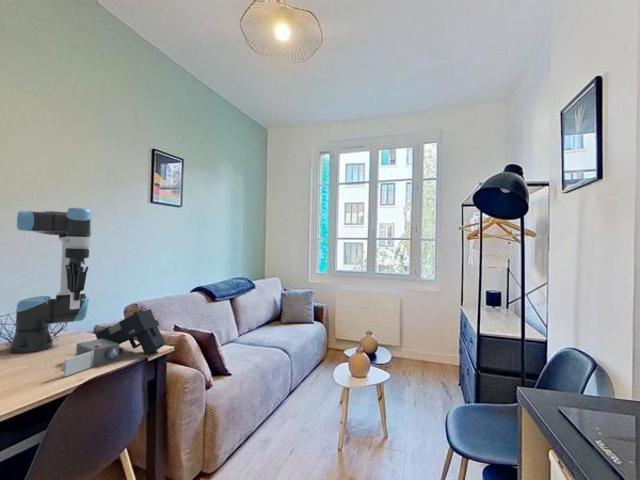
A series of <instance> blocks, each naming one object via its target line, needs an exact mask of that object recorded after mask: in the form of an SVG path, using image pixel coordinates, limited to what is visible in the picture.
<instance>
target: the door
mask: <svg viewBox="0 0 640 480" xmlns="http://www.w3.org/2000/svg"><path fill="white" fill-rule="evenodd" d="M93 352H94V351H93V350H92V351H90V352H87V353H84V354H81V355H78V356H76V355H75V356H72V357H71V356H70V357H68V358H66V359H64V363H62V364H61V372H63V376H64V377H68V376H71V375H73V374H75V373H78V372H81V371H84V370H87V369H89V368H90V369H91V368H94V367H93Z"/></svg>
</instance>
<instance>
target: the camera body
mask: <svg viewBox="0 0 640 480" xmlns="http://www.w3.org/2000/svg"><path fill="white" fill-rule="evenodd" d="M75 350H76V353H75V356H78V355H81V354H84V353H87V352H90V351H92V350H93V351H94V352H93V367H92V368H96V367H99V366H104V365H106V364H110V363H114V362H117V361H119V360H120V344H118V343H115V342H112V341H109V340H106V339H103V338H102V339H97V338H96V339H94V340H93V339H91V340H88V341H83V342H78V343H76V349H75Z"/></svg>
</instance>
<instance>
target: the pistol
mask: <svg viewBox="0 0 640 480" xmlns="http://www.w3.org/2000/svg"><path fill="white" fill-rule="evenodd" d="M159 326H160V322H159V320H158V319H156V318H155V317H154V314H153V312H152V309H151V308H150V309H145V310H142V309H141V310H138V311H134V314H132V315H129V316H128V317H125V318H123V319H121V320H120V321H119V322H117V323H116V324H114V325H112V326H110V325H109V326H107V327H106V328H104V329H101V330H100V331H97V332H95V333H94V335H95V337H96V340H97V339H102V338H103V339H106V340H109V341H112V342H115V343H118V344H119V345H121V344H123V343H125V342H129V344H130V345H131V348H132V349H133V350H134V349H135V350H136V349H137V348H138V347H140V346H141V348H142V350H143V352H144V354H145V356H147V355H150V354H152V353H154V352H156V351H158V350H159V349H161V348H162V347H163V346H165V344H166V343H167V342H166V340H165V339H164V337H163V335H162V333H161V331H160V330H159V328H158V327H159ZM134 338H136V340H137V344H136V341H135V339H134Z"/></svg>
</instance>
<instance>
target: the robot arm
mask: <svg viewBox="0 0 640 480" xmlns="http://www.w3.org/2000/svg"><path fill="white" fill-rule="evenodd" d="M91 212H92V211H91V210H90V209H89V208H84V207H83V208H81V207H68V208H67V211H66V212H65V211H55V210H53V211H52V210H51V211H50V210H49V211H48V210H47V211H31V210H19V211H18V212H17V217H16V228H17V230H18V231H23V232H24V231H25V232H34V233H39V234H43V235H48V236H49V235H50V236H58V240H59V241H60V242H61V243H62V245H61V246H62V247H61V268H60V269H61V270H60V286H59V287H60V289H59V290H60V291H59V292H58V293H56V294H55V298H51V296H50V295H41V296H32V297H28V298H25V299H21V300H19V301H18V302H17V304H16V310H15V313H16V315H15V332H14V335H13V338H12V340H11V342H10V344H9V347H8V352H10V353H11V354H27V353H35V352H40V351H44V350H47V349H49V348H52V347H53V344H54V343H53V339H52V335H51V332H50V329H49V328H50V325H52V324H53V325H54V324H64V323H74V322H80V321H84V319H85V318H86V317H87V313H88V308H89V302H90V301H89V300H90V297H89V296H86V292H85V284H86V279H87V273H88V271H89V266H86V264H85V263H86V262H85V259H89V258H90V249H89V247H90V243H91V236H92V226H91V221H92V214H91Z"/></svg>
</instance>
